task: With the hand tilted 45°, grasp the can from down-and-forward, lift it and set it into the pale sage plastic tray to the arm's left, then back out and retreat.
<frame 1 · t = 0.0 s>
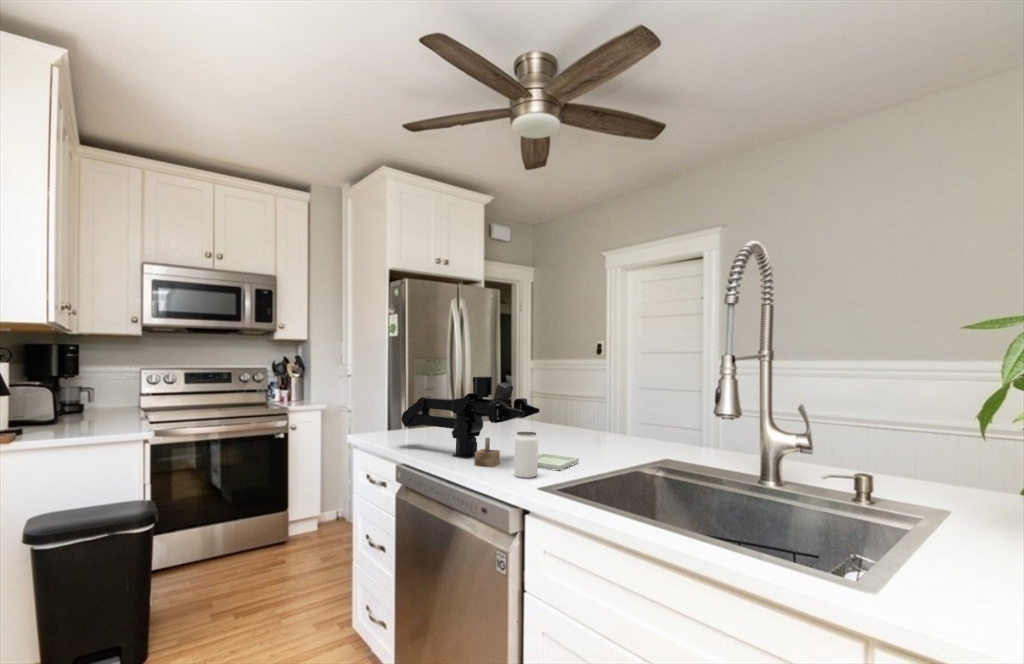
hand: (531, 412, 151), 17 cm above the worktop, tool horizontal, fingers open, 9 cm apart
wooden peg block: (487, 464, 152), on the worktop
can: (525, 476, 138), on the worktop
tray: (550, 464, 153), on the worktop
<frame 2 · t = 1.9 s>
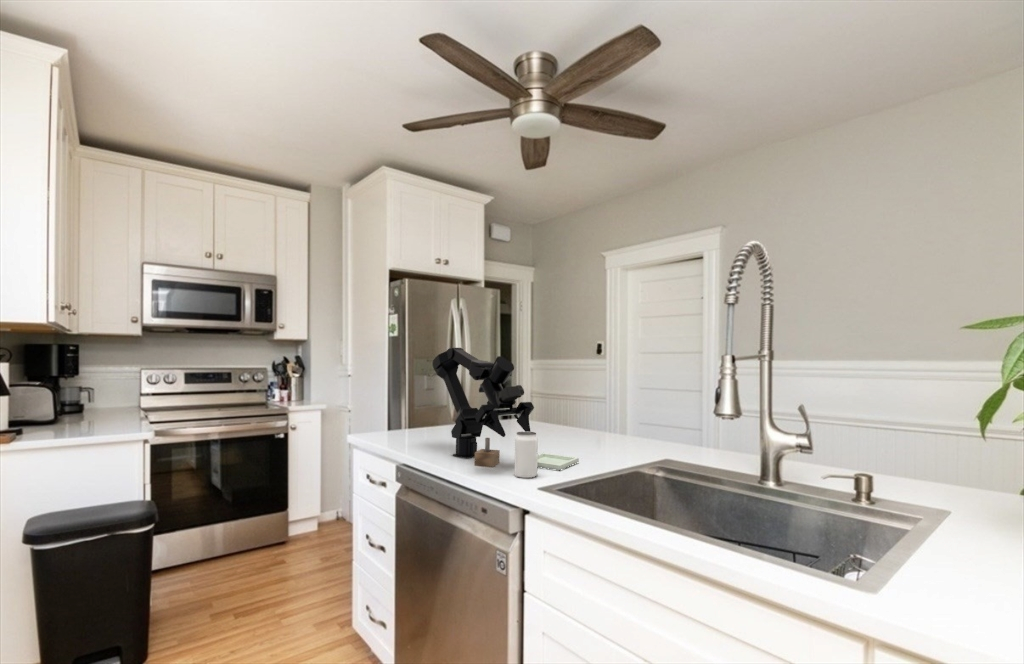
hand: (517, 434, 142), 11 cm above the worktop, tool tilted 45°, fingers open, 9 cm apart
nothing on the worktop moved.
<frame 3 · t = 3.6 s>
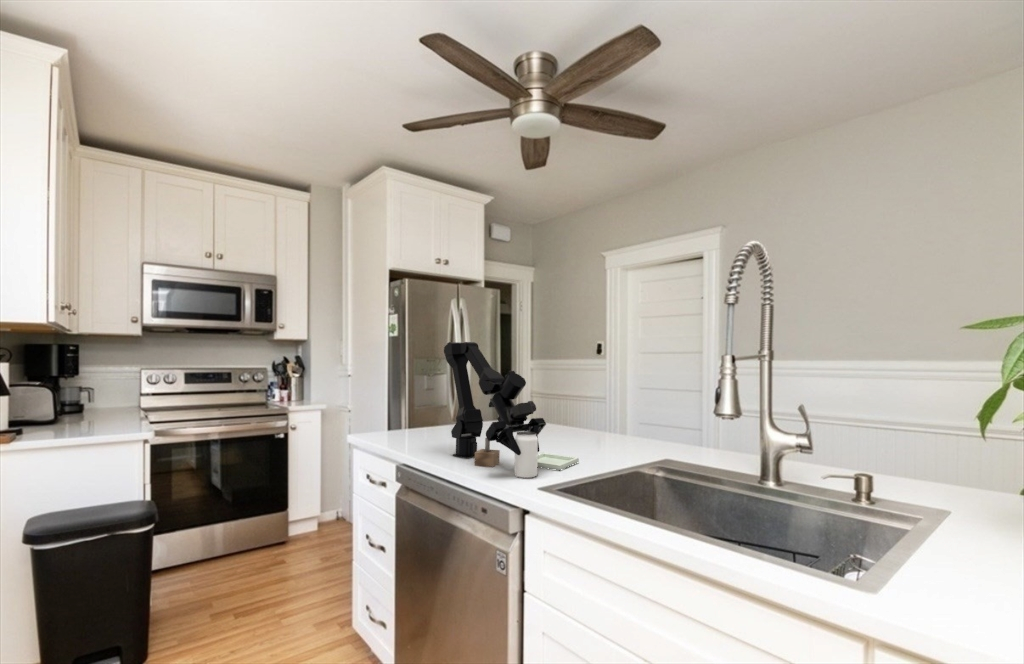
hand: (529, 453, 137), 7 cm above the worktop, tool tilted 45°, fingers closed on can, 6 cm apart
can: (525, 476, 138), on the worktop, touching gripper
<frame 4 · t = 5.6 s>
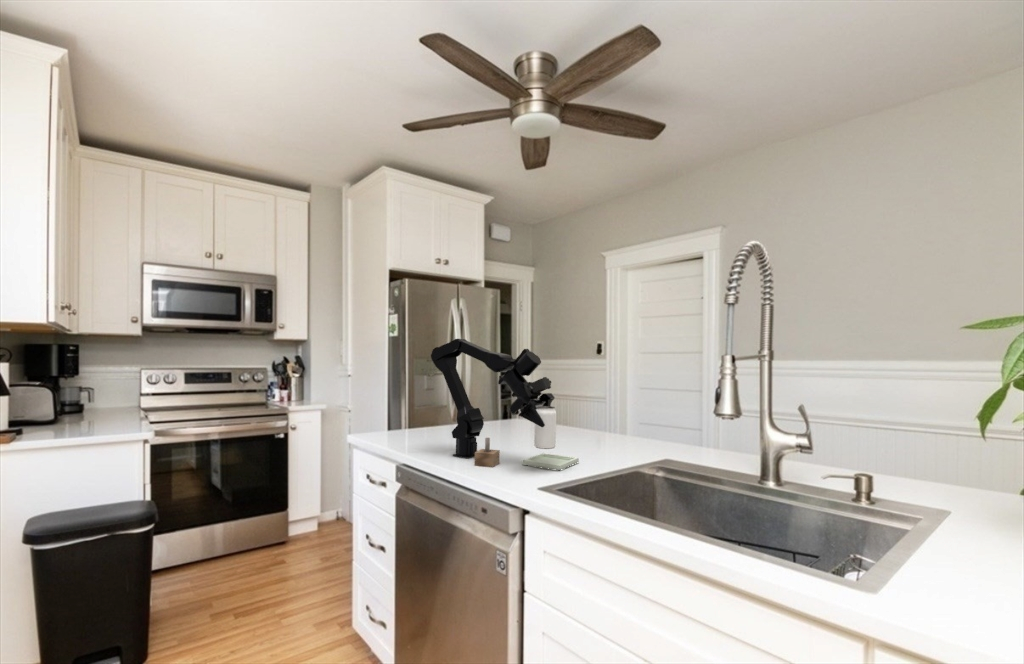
hand: (549, 425, 147), 13 cm above the worktop, tool tilted 45°, fingers closed on can, 6 cm apart
can: (544, 447, 147), point 6 cm above the worktop, touching gripper
when the fingers open (8 cm above the worktop, at t = 7.4 s): can stays where it is, resting on tray.
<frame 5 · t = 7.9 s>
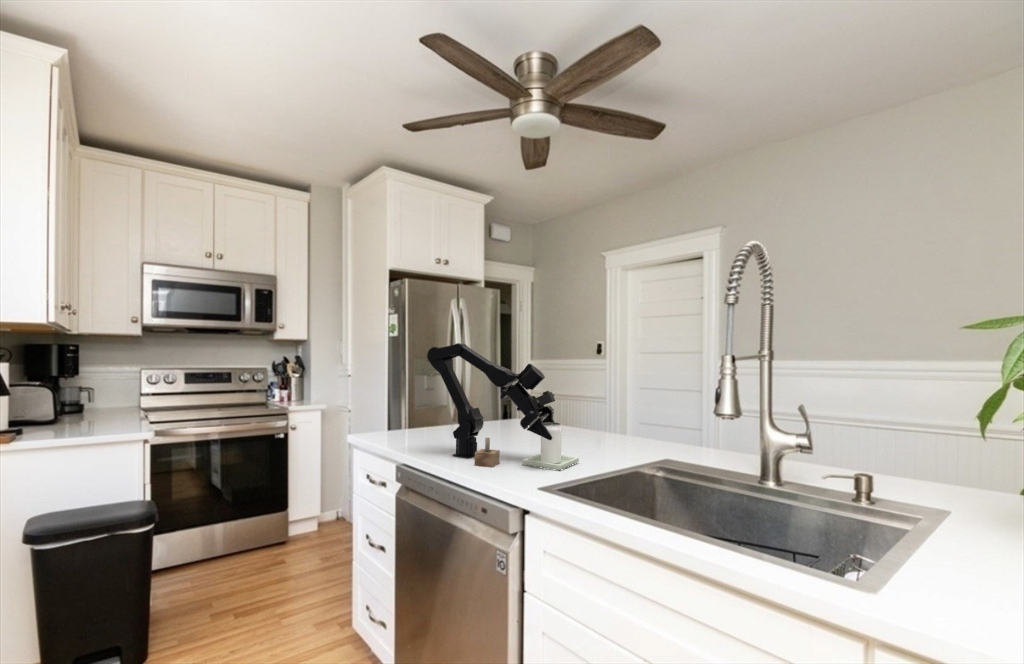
hand: (555, 436, 153), 9 cm above the worktop, tool tilted 45°, fingers open, 9 cm apart
can: (550, 462, 153), resting on tray
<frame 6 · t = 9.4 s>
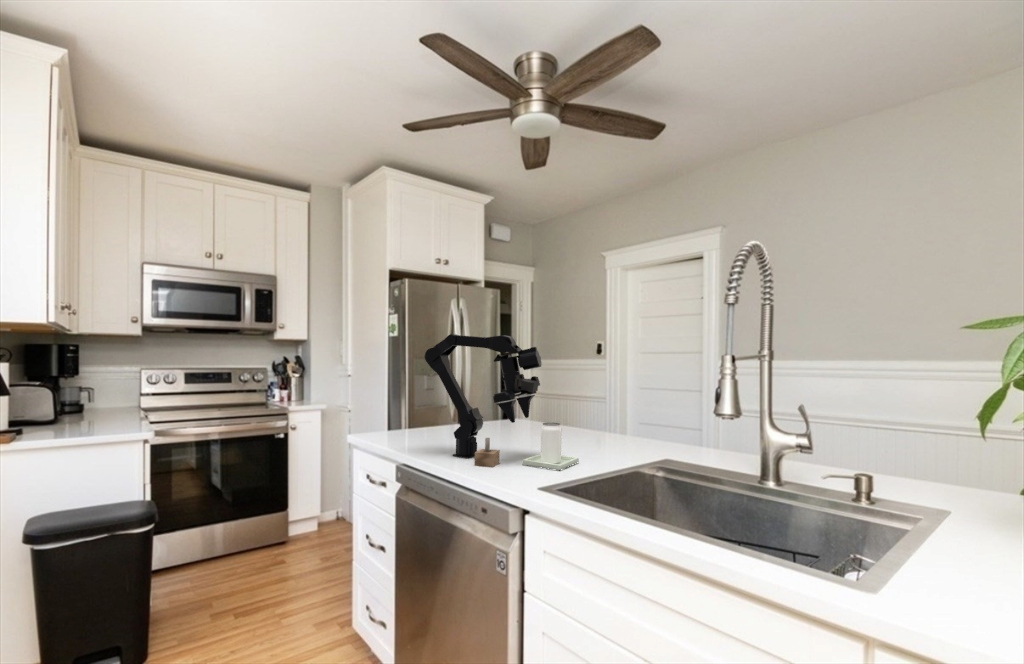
hand: (520, 420, 159), 13 cm above the worktop, tool pointing down, fingers open, 9 cm apart
nothing on the worktop moved.
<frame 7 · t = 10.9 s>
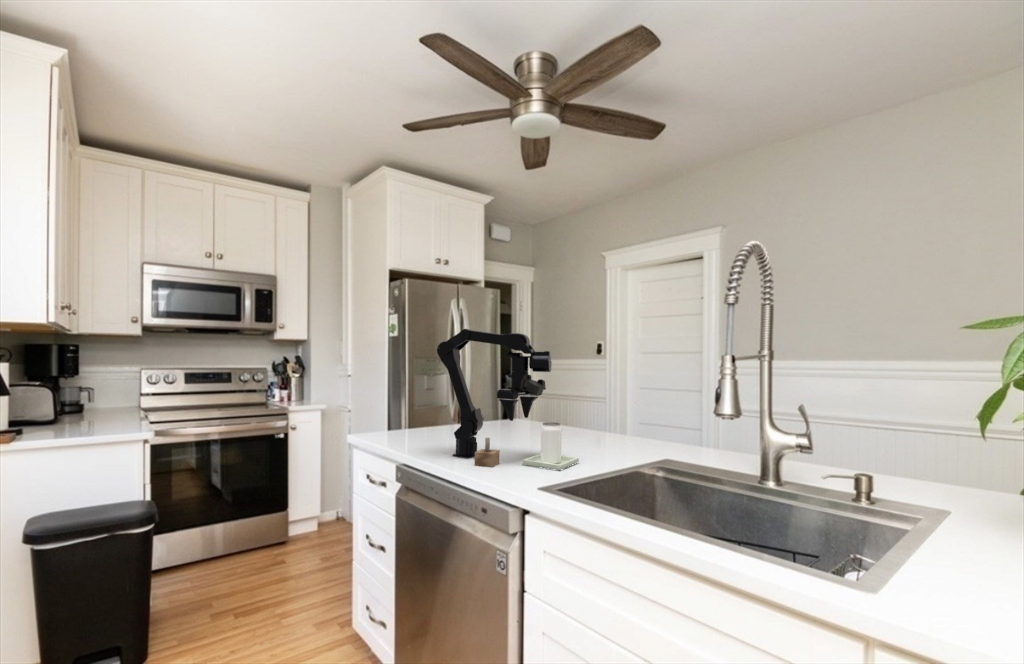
hand: (519, 419, 160), 13 cm above the worktop, tool pointing down, fingers open, 9 cm apart
nothing on the worktop moved.
at the end: can inside the target area on the tray (0.1 cm from its centre), point 0.4 cm above the tray's base; can tilted 0°; the gripper is holding nothing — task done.
